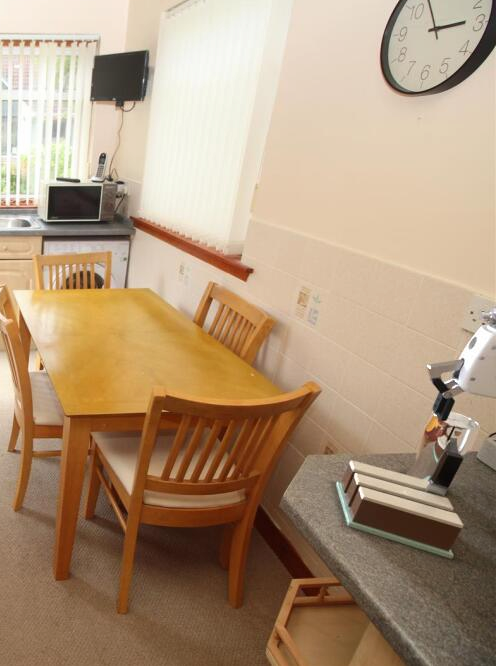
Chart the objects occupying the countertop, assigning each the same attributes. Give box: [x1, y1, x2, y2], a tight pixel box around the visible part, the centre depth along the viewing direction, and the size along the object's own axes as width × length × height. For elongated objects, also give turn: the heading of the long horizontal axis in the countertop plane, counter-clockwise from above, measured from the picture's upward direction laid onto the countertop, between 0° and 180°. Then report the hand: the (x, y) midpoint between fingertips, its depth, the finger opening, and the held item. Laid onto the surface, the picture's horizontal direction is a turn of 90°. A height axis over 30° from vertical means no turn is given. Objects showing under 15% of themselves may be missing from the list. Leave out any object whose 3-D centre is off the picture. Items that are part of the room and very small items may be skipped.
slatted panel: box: [335, 459, 464, 560], centre depth 83 cm, size 14×12×6 cm
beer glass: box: [404, 410, 482, 481], centre depth 90 cm, size 7×7×15 cm
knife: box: [424, 451, 465, 497], centre depth 81 cm, size 2×1×14 cm, turn 64°
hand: (478, 425), depth 75 cm, fingers open, 9 cm apart
